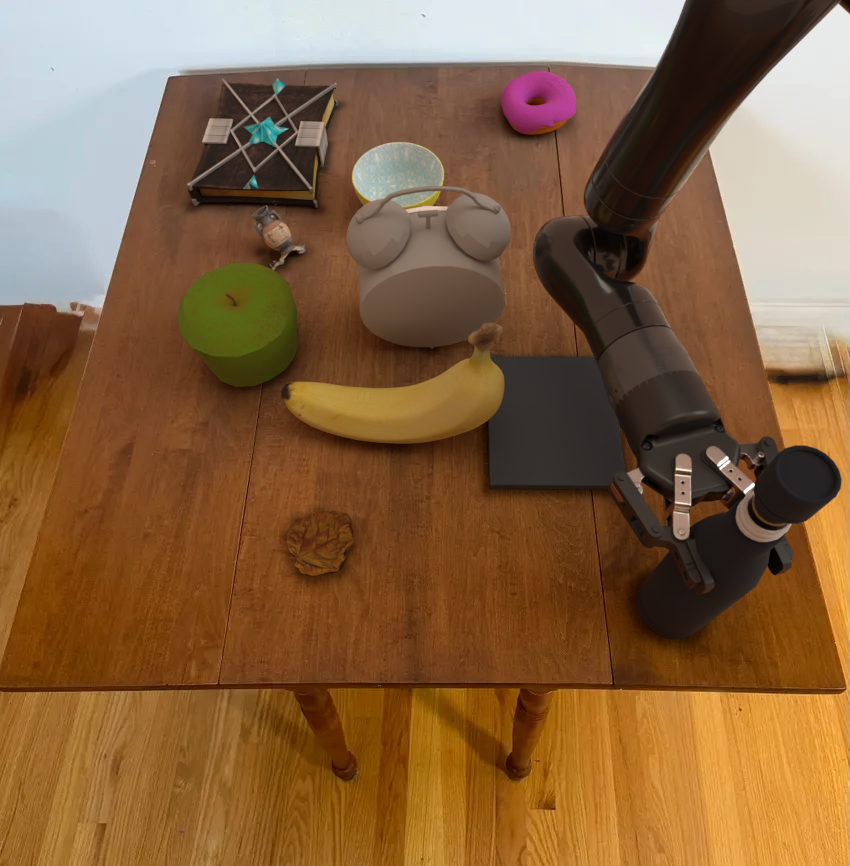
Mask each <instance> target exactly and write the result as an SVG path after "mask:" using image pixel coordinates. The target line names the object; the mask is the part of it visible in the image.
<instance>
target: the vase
mask: <svg viewBox="0 0 850 866" xmlns="http://www.w3.org/2000/svg"><path fill="white" fill-rule="evenodd" d="M251 218H252V219H253V220H255V221H254V224H253V227H254V229H255V231H256V232H257V233H258V234H259V236H260V237H261V239H262V240H263V242H264V243H265V244H266V245H267V246H268V247H269V248H271V249H272V250H274V251H280V258H279V260H277V261H276V260H273V261H272V263H275V264H274V265H273V267H272V264H269V265H270V267H271V269H272V270H276V268H277V267H279V266H284V264H285V262H286V261H285V259H286V257H288V255H289V254H290V253H291V252H292V251H298V254H301V255H302V254H303V253H305V252H306V250H307V248H305V246H306V243H305V244H304V245H302V243H299V244H298V245H296V244H293V243H292V233H291V230H290V228H289V226H287V224H286V223H285V222H284V220H283V219H282V218H281V215H280V214H279V213H278V212H277V211H276V210H269V207H268V205H263V206H262V207H261V206H260V208H258V209H257V210H256V211H254V212H253V213H251Z"/></svg>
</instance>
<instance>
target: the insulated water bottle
mask: <svg viewBox="0 0 850 866" xmlns="http://www.w3.org/2000/svg"><path fill="white" fill-rule="evenodd" d="M840 472H841V471H840V469H839V467H838V466H837V464H836V463H835V461H834V460H833V459H832V458H831V457H830V456H829V455H828V454H827V453H825V452H823V451H822V450H820V449H819V448H816V447H813V446H809V445H795V444H794V445H792V446H788V447H785V448H784V449H783V450H781V451H779V453H778V454H777V456H776V457H775V458H774V459H773V460H772V461H771V462H770V463H769V464H768V466H767V467H766V468H765V469H764V470H763V471H762V472H761V473H760V474H759V476H758V478H757V479H756V478H755V480H754V484H755V485H754V492H752V493H750V494H748V495H747V496H746V497H744V498H742V499H740V500H739V501H737V502H736V503H735V504H734V505H733V506H732V507H731V508H730V509H727V511H723V512H719V513H715V514H712V515H709V516H706V517H704V518H702V519H700V520H698V521H697V522H695V523H694V524H692V525H690V535H689V538H690V540H692V539H695V541H696V548H697V552H698V554H699V556H700V558H701V560H702V562H703V563H704V564H705V565H706V566H707V567H708V569H709V571H710V574H711V576H712V578H713V580H714V588H713V589H712V590H710V591H709V592H708V593H704V594H700V595H698V594H697V593H696V591H695V589H694V588H691V589H690V588H689V587H688V586H687V585H686V584H685V583H684V581H683V578H682V575H681V574H680V571H679V569H678V567H677V564H676V562H675V560H674V557H673V555H672V553H671V552H670V551H669V550H668V552H667V553H666V554H665V555H664V557H663V558H662V559H661V560H660V561H659V563H658V564H657V565H656V566H655V568H654V569H653V570H652V571H651V572H650V574H649V575H648V576H647V577H646V579H645V580H644V581H643V582H642V584H641V586H640V587H639V590H638V594H637V598H636V600H637V609H638V613H639V615H640V617H641V619H642V620H643V622H644V623H645V624H646V626H647V627H648V628H649V629H650V630H651V631H653V632H654V633H656V634H657V635H659V636H661V637H665V638H667V639H672V640H673V639H674V640H682V639H684V638H688V637H691V636H693V635H694V634H696V633H697V632H698V631H699V630H701V629H702V628H704V627H705V626H706V625H707V624H709V623H711V621H713V620H714V619H716V618H717V617H718V616H719V615H721V614H722V613H723V612H725V611H726V610H728V609H729V608H730V607H732V606H733V605H734V604H736V603H737V602H739V600H741V599H742V598H743V597H745V596H746V595H748V594H749V593H750V592H751V591H753V590H754V589H755V588H757V586H758V584H759V582H760V581H761V579H762V577H763V575H764V574H765V572H766V570H767V568H768V566H767V565H768V562H769V556H770V550H771V549H772V548H774V547H775V546H776V545H777V544H778V543H780V542H781V541H782V539H783V537H784V535H785V536H786V533H788V532H789V530H790V529H791V527H792V525H798V524H801V523H804V522H805V523H806V522H807V521H808V520H810V519H811V518H812V517H813V516H815V515H816V514H817V513H818V512H820V511H821V510H822V509H823V508H824V507H826V506H827V505H828V504H829V503H830V502H832V501H833V500H834V499H835V498H837V496H838V494H839V492H840V491H841V488H842V476H841V473H840Z"/></svg>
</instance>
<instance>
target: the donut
mask: <svg viewBox="0 0 850 866" xmlns="http://www.w3.org/2000/svg"><path fill="white" fill-rule="evenodd" d="M500 106H501V110H502V112H503V113H502V114H503V116H504V117H505V118H506V119H507V121H508V124H509V125H510V126H511V127H512V129H514V130H515V131H516V132H518V133H520V134H523V135H531V136H533V135H544V134H548V133H551V132H553V131H556V130H558V129H560V128H562V127H563V126H564V125H565V124H566V123H567V122H568V121H569V120H570V119H571V118H572V117H573V116H574V115H576V113H577V97H576V93H575V91H574V89H573V88H572V86H571V85H570V83H568V82H567V80H565V79H564V78H562V77H561V76H559V75H558V74H556V73H553V72H551V71H550V72H549V71H545V70H535V71H530V72H527V73H523V74H521V75H519V76H516V77H515V78H513V79H512V80H510V81H509V82H508V83H507V84H506V85H505V86H504V88H503V89H502V91H501V94H500Z"/></svg>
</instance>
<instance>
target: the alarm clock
mask: <svg viewBox="0 0 850 866" xmlns="http://www.w3.org/2000/svg"><path fill="white" fill-rule="evenodd" d="M426 191H441V192H448V193H459V194H462V195H459V196H457V197H456V198H455V199H454V200H453V201H452V202H451V204H450V205H449V206H446V205H444V206H442V205H441V206H440V205H433V206H424V207H418V208H411V209H406V210H405V209H404V208H402V207H401V206H400V205H399V204H398V203H396V202H394V201H392V200H391V199H392V198H395V197H399V196H402V195H407V194H412V193H418V192H426ZM511 226H512V225H511V223H510V220H509V217H508V215H507V213H506V212H505V210H504V208H503V206H502V205H501V204H499V203H498V202H497V201H496V200H495V199H493V198H491V197H490V196H488V195H487V194H483V193H479V192H472V191H470V190H468V189H467V188H464V187H458V186H453V185H452V186H451V185H443V186H423V187H415V188H410V189H405V190H400V191H397V192H394V193H391V194H389V195H388V196H387V197H385V198H384V199H378V200H374V201H371V202H369V203H367V204H365V205H363V206H361V207H360V208H359V209H358V210H357V211H356V212H355V214H354V215H353V216H352V217H351V220H350V222H349V224H348V227H347V230H346V237H345V240H346V241H345V243H346V247H347V251H348V253H349V255H350V256H351V258H352V260H354V261H355V262H356V263H357V276H358V277H357V278H358V279H357V280H358V282H357V283H358V303H359V306H358V307H359V316H360V319H361V321H362V323H363V325H364V326H365V327H366V328H367V329H368V330H369V331H370V332H371V334H373V335H375V336H377V337H378V338H380V339H382V340H383V341H385V342H389V343H393V344H395V345H398V346H406V347H413V348H430V349H434V348H436V347H444V346H450V345H454V344H457V343H461V342H465V341H468V337H469V336H470V335H471V333H472V332H474V331H476V330H478V329H479V328H481V327H482V325H483V324H484V323H488V322H489V323H496V322H497V321H498V319H499V318H500V317H501V316H502V313H503V310H504V308H505V305H506V298H505V289H504V282H503V274H502V267H501V260H500V259H501V258H500V256H501V255H502V254H503V253H504V252H505V250H506V249H507V247H508V245H509V244H510V242H511V233H512V231H511V228H512V227H511Z"/></svg>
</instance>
